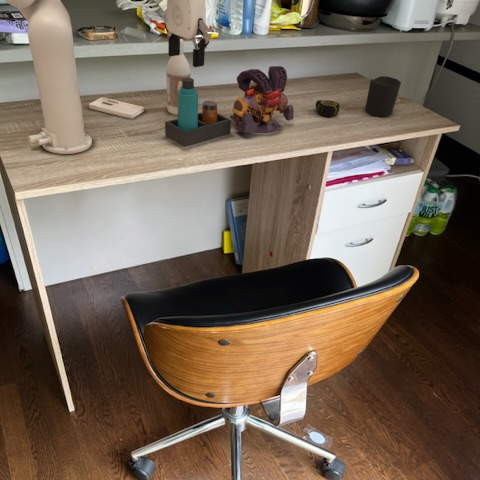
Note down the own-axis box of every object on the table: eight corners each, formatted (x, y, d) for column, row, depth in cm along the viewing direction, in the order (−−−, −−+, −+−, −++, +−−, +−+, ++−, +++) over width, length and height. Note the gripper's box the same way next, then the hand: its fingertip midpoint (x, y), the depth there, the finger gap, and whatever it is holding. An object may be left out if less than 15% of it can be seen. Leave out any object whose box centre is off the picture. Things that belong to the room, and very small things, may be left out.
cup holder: (184, 149, 141) (184, 132, 138) (165, 138, 145) (165, 121, 142) (230, 135, 150) (231, 119, 147) (210, 125, 154) (211, 109, 151)
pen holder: (395, 119, 169) (404, 86, 162) (366, 117, 168) (374, 84, 162) (389, 108, 176) (397, 77, 169) (361, 106, 176) (368, 75, 169)
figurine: (245, 143, 146) (250, 81, 135) (217, 125, 154) (220, 65, 143) (299, 130, 156) (308, 71, 145) (271, 115, 164) (277, 57, 153)
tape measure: (335, 111, 171) (337, 99, 168) (339, 118, 166) (342, 106, 163) (314, 110, 170) (316, 98, 168) (318, 118, 165) (320, 105, 162)
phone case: (88, 108, 158) (131, 119, 154) (87, 103, 157) (131, 114, 153) (102, 101, 163) (144, 111, 159) (102, 96, 162) (144, 106, 158)
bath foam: (174, 117, 157) (173, 44, 144) (163, 109, 161) (161, 37, 148) (194, 114, 160) (195, 42, 147) (183, 106, 164) (183, 35, 151)
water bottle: (186, 142, 142) (186, 84, 132) (173, 136, 145) (173, 78, 135) (201, 138, 145) (202, 80, 135) (189, 131, 148) (189, 74, 138)
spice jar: (208, 136, 147) (208, 107, 142) (198, 130, 149) (198, 102, 144) (219, 132, 149) (221, 104, 144) (209, 127, 152) (210, 99, 146)
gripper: (151, -26, 123) (153, 53, 134) (198, -11, 114) (196, 72, 125) (177, -27, 127) (176, 50, 138) (224, -13, 118) (219, 68, 129)
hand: (186, 60), depth 132 cm, fingers open, 9 cm apart
